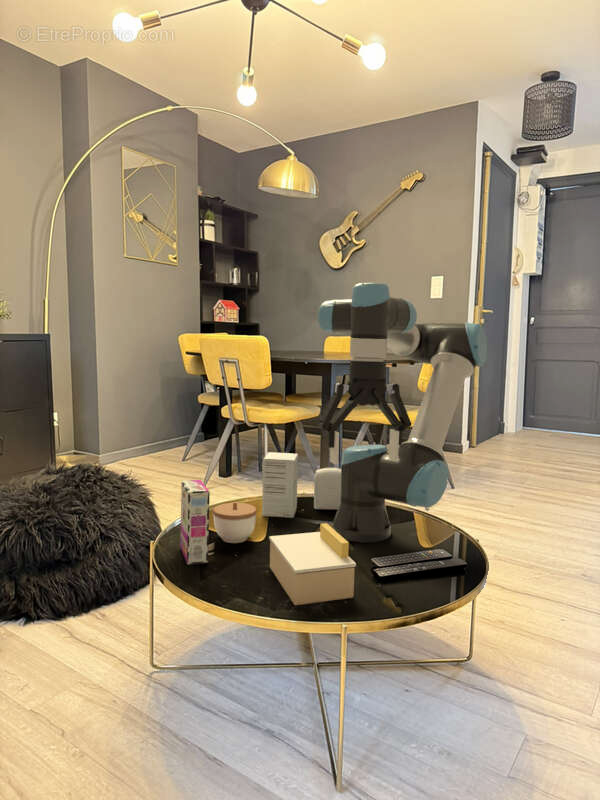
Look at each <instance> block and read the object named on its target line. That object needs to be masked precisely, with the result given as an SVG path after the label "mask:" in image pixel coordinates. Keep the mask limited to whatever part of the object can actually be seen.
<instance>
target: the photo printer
mask: <svg viewBox="0 0 600 800" xmlns="http://www.w3.org/2000/svg"><path fill="white" fill-rule="evenodd" d="M313 482H314V483H313V485H314V486H313V487H314V488H313V491H314V492H313V499H314V500H313V509H315V510H338V508H339V505H340V498H341V468H338V467H324V468H320V469H317V470H315V474H314V481H313Z"/></svg>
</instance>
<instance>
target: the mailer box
mask: <svg viewBox="0 0 600 800" xmlns="http://www.w3.org/2000/svg"><path fill="white" fill-rule="evenodd" d="M269 542H270V543H269V568H270V570H271V571H272V572H273V574H274V576H275V578H276V579H277V581H278V582H279V583H280V585H281V586H282V588H283V590H284V591H285V593H286V594H287V595H288V597H289V599H290V600H291V602H292V603H293V605H294V606H298V605H300V606H301V605H307V604H314V603H315V604H316V603H321V602H330V601H335V600H336V601H338V600H345V599H352V598H354V594H355V593H354V592H355V590H354V589H355V588H354V587H355V567H347V568H339V569H330V570H321V571H313V572H304V573H294V572H293V570H292V569H291V568H290V566H289V565H288V564H287V562H286V561H285V560H284V558H283V557H282V556H281V554H280V553H279V552H278V550H277V549H276V547H275V546H274V545H273V543H272V542H271V541H270V540H269Z"/></svg>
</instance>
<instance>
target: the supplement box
mask: <svg viewBox="0 0 600 800" xmlns="http://www.w3.org/2000/svg"><path fill="white" fill-rule="evenodd" d="M298 468H299V453H290V452H275V451H274V452H273V451H272V452H271V451H269V452H267V454H266V455H265V457H264V458H262V491H261V492H262V493H261V494H262V496H261V497H262V499H261V500H262V503H261V505H262V506H261V507H262V508H261V516H262V517H272V518H273V517H275V518H291V519H292V518H294V517H295V514H296V512H297V503H298V472H299V471H298V470H299V469H298Z"/></svg>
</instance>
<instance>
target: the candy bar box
mask: <svg viewBox="0 0 600 800" xmlns="http://www.w3.org/2000/svg"><path fill="white" fill-rule="evenodd" d="M180 484H181V487H180V489H181V491H180V492H181V493H180V550H181V553H182V555H183V557H184V560H185V562H186V564H187V565H189V566H190V565H191V566H192V565H200V564H208V563H209V538H210V537H209V536H210V534H209V533H210V532H209V531H210V528H209V527H210V490H209V489H208V488H207V486H206V484H205V483H203V481H202V480H200V479H193V480H192V479H190V480H181V482H180Z"/></svg>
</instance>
